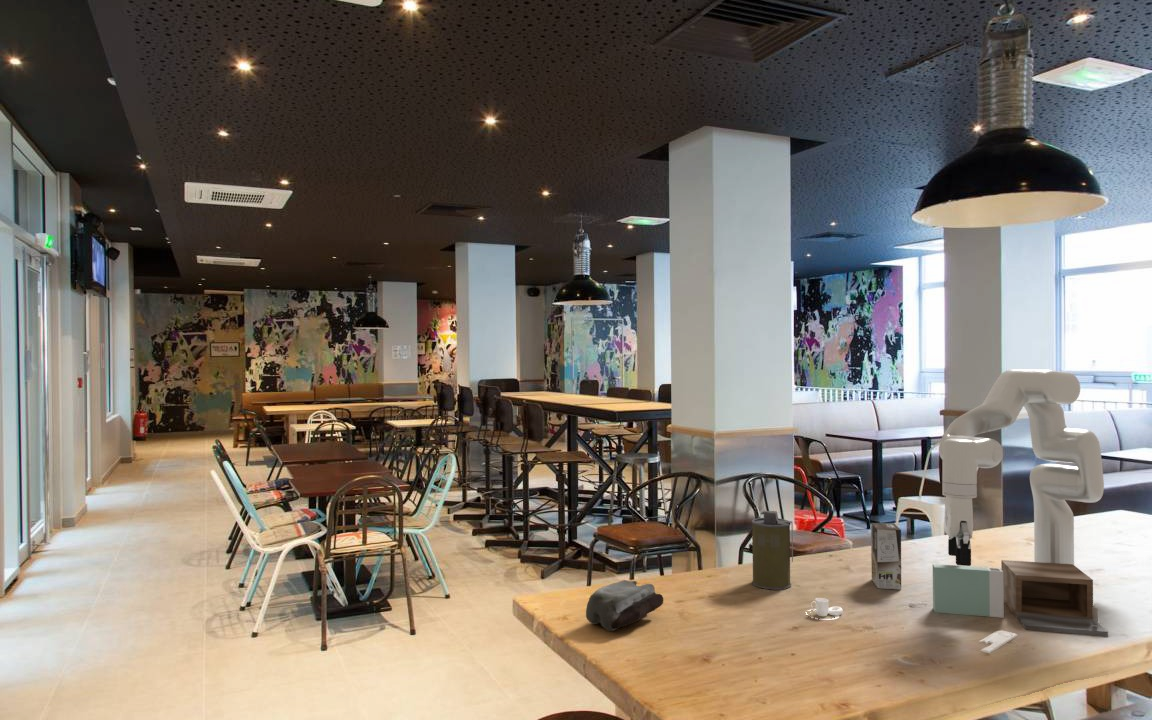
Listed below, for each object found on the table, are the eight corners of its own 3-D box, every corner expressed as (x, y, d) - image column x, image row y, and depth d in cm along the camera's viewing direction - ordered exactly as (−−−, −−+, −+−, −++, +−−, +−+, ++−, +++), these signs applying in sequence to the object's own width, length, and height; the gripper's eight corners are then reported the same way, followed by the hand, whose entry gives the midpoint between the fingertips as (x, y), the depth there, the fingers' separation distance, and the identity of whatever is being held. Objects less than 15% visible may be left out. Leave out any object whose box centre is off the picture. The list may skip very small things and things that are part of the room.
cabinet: (1001, 599, 196) (1001, 560, 196) (1073, 604, 191) (1072, 564, 191) (1026, 629, 174) (1026, 585, 174) (1108, 636, 169) (1107, 591, 169)
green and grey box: (933, 608, 189) (932, 564, 189) (1000, 613, 185) (1000, 568, 185) (935, 612, 186) (934, 567, 186) (1003, 617, 182) (1003, 571, 182)
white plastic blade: (964, 648, 164) (964, 643, 164) (993, 632, 174) (993, 627, 174) (989, 655, 160) (989, 650, 160) (1017, 638, 170) (1017, 633, 170)
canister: (749, 587, 208) (748, 514, 208) (755, 577, 217) (754, 507, 217) (790, 592, 204) (789, 517, 204) (794, 581, 213) (794, 509, 213)
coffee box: (902, 590, 204) (901, 529, 204) (876, 588, 206) (876, 528, 206) (895, 580, 213) (894, 522, 213) (870, 579, 215) (870, 521, 215)
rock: (621, 641, 170) (621, 603, 170) (578, 629, 177) (578, 593, 177) (666, 617, 185) (666, 582, 185) (625, 608, 192) (625, 574, 192)
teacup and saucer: (843, 613, 188) (842, 596, 188) (843, 624, 180) (842, 606, 180) (805, 609, 191) (805, 593, 191) (804, 620, 183) (804, 603, 183)
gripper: (936, 484, 195) (936, 551, 195) (948, 494, 179) (948, 567, 179) (969, 485, 193) (969, 553, 193) (984, 496, 177) (984, 570, 176)
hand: (959, 560), depth 186 cm, fingers open, 9 cm apart
